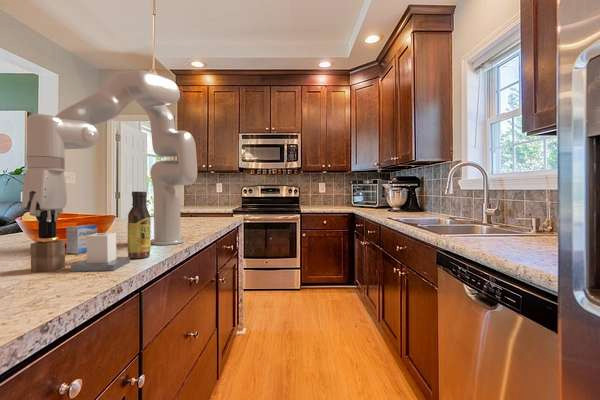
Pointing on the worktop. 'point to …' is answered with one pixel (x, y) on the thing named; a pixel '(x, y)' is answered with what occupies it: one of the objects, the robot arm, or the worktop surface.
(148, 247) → the sauce bottle
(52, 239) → the press pin
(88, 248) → the block
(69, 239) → the medicine box
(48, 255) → the brown block
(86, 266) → the plate
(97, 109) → the robot arm
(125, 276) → the worktop surface
